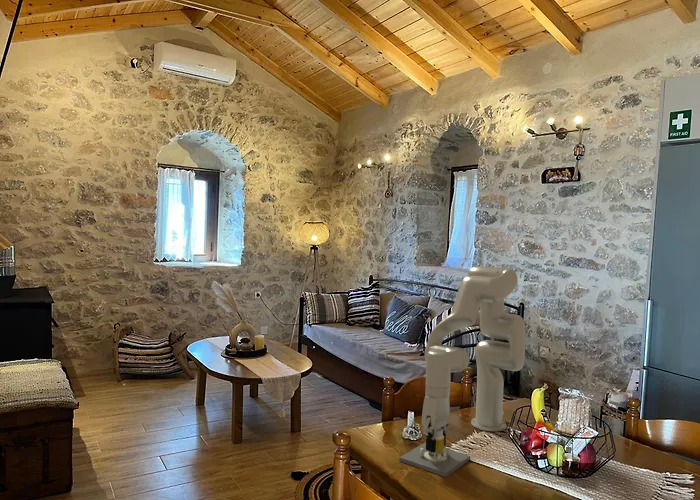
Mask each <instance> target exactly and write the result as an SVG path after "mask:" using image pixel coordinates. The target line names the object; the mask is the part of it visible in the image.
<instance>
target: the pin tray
mask: <svg viewBox="0 0 700 500" xmlns="http://www.w3.org/2000/svg"><path fill="white" fill-rule="evenodd" d="M469 461H471V455H469V454H466V453H462V452H459V451H456V450H452V449H451V447H444V456H443V457H442V458H441V454H440V453H438V454H437V458H432V457H430V456H429V455H428V451H427V450H426V441H425V442H424V443H422V444H420V445H418V446H416V447H415V448H413V449H412V450H410V451H408V452H406V453H404V454H403V455H401V456H399V462H401V463H404V464H407V465H410V466H412V467H416V468H419V469H421V470H424V471H427V472H431V473H433V474H436V475H438V476H440V477H445V478H447V477H449V476H450V475H451V474H452V473H453V472H455V471H456V470H458V469H459V468H460V467H462V466H463V465H465V464H466V463H467V462H469Z"/></svg>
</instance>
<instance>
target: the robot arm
mask: <svg viewBox="0 0 700 500" xmlns="http://www.w3.org/2000/svg"><path fill="white" fill-rule="evenodd" d="M517 284H518V275H517V272H516V271H515V270H514V269H513V268H509V267H496V266H484V265H479V266H473V267H471V268H469V269H468V274H467V276H465V277H464V278H462V280H461V282H460V285H459V287H458V290H457V293H456V297H455V300H454V302H453V306H452V309H451V312H450V314H449V315H447V316H446V317H445V318H444V319H442V320H441V321H440V322H439V323H438V324H437V325H436V326H435V327H434V328H433V329H432V330H431V331H430V334H429V336H428V339H427V340H428V341H427V342H426V346H425V349H424V354H423V355H424V360H425V364H426V365H425V396H424V398H423V405H422V413H421V427H422V430H421V431H422V433H423V434H424V437H425V442H426V450H427V451H430V452H433V453H434V452H436V439H435V435H436V430H437V429H439V428H442V429H443V436H444V447H445V446H446V444H447V441H446V440H447V432H448V430H447V429H448V425H449V422H450V416H451V415H450V414H451V406H450V405H451V404H450V402H451V401H450V397H451V375H452V373H460V372H462V371H464V370H465V369H467V368H468V366H469V364H470V355H469V353H468V351H467V350H466V349H464V348H461V347H456V346H452V345H447V344H442V343H443V341H444V339H445V338H446V337H447V336H449V335H450V334H452V333H454V332H456V331H459V330H462V329H463V330H464V329H465V328H469V327H471V326H473V325H474V324H475V323H476V322H477V318H478V316H479V329H480V333H481V335H483V336H484V337H487V338H492V339H498V340H504V341H508V342H504V341H498V340H491V339H490V340H489V339H483V340H481V341H479V342H478V343H477V344H476V347H475V353H474V354H475V361H476V374H477V375H476V398H475V399H476V400H475V417H473V418H472V419H471V421H470V424H471V425H472V427H473V428H476V429H478V430H481V431H486V432H502V431H505V430H506V429H507V424H506V423H507V422H505V421H503V415H505V411H504V410H503V407H504V405H503V403H504V386H505V385H504V376H503V374H502V373H503V372H501V370H505V371H512V372H518V371H519V372H520V371H521V370H522V369H523V367H524V364H525V359H526V356H525V355H526V323H525V321H524V318H523V317H522V316H521V315H518V314H515V313H508V312H505V299H506V298H507V297H508V296H509V295H511V294H512V293H513V292H514V290H515V289H516V288H517V286H518V285H517ZM431 427H433V428H431ZM430 430H431V431H433V433H432V434H431V432H430Z"/></svg>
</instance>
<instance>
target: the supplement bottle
mask: <svg viewBox="0 0 700 500" xmlns="http://www.w3.org/2000/svg"><path fill="white" fill-rule="evenodd" d="M430 428H433V427H432V426H430ZM430 432H431V434H432V433H433V431H431V430H430ZM435 439H436V452H434V453H433V452H430V451H428V455H429V456H430V457H432V458H437V454H438V453H440V454H441V458H442V457H443V456H444V448H445V446H444V436H443V429H442V428H439V429H437V430H436V435H435Z"/></svg>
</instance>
